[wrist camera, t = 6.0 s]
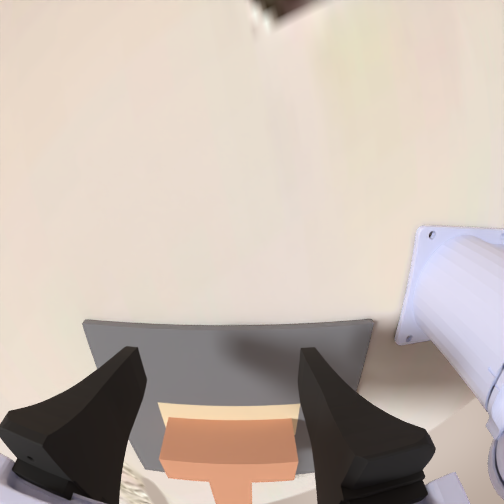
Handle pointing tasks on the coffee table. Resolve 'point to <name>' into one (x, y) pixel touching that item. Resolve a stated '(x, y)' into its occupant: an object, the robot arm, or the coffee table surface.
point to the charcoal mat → (227, 373)
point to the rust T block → (229, 454)
